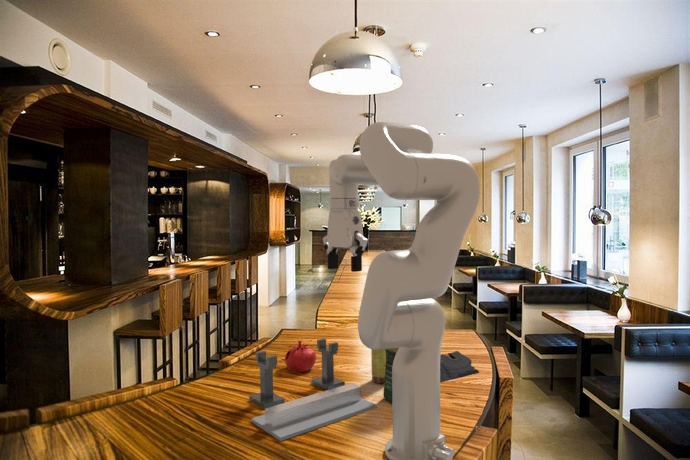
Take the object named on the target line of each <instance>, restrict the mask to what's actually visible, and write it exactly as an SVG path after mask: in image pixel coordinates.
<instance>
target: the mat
mask: <svg viewBox="0 0 690 460" xmlns="http://www.w3.org/2000/svg"><path fill="white" fill-rule="evenodd" d="M373 409H377V404H376V403H374V402H372V401H370V400H366V399H364V398H363V397H361V400H360V401H357V402H354V403H351V404H348V405H345V406H342V407H338V408H335V409H332V410H329V411H326V412H323V413H320V414H317V415H314V416H311V417H308V418H305V419H302V420H299V421H296V422H293V423H290V424H287V425H284V426H281V427H277V428H274V429H272V428H271V427H269V426H268V425H266V424H265V413H264V414H261V415H257V416H255V417H252V418H251V419H250V420H251V423H252V424H254V425H256V426H257V427H258V428H260V429H261V430H263V431H265V432H266V433H267V434H268V435H270V436H272V437H274V438H275V439H277V440H278V441H279V442H283V441H285V440H289V439H291V438H294V437H297V436H299V435H303V434H305V433H308V432H312V431H315V430H316V429H320V428H322V427H326V426H329V425H331V424H334V423H337V422H340V421H342V420H345V419H348V418H351V417H354V416H357V415H359V414H361V413H362V414H363V413H365V412H368V411H371V410H373Z"/></svg>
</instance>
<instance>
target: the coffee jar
mask: <svg viewBox="0 0 690 460" xmlns="http://www.w3.org/2000/svg"><path fill="white" fill-rule="evenodd" d="M398 349H399V348H393V349H385V350H386V369H385V380H384V384H383V398H384V399H385V400H386V402H388V403H390V404H392V366H393V361H394V358H395V355H396V353H397V351H398Z"/></svg>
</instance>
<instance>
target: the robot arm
mask: <svg viewBox="0 0 690 460" xmlns="http://www.w3.org/2000/svg"><path fill="white" fill-rule="evenodd" d="M360 136H361V137H360V140H359V153H360V154H340V155H339V156H338V157H337V158H335V159H333V160H331V161H330V162H329V172H328V174H329V178H328V179H329V180H328V181H329V212H328V220H327V221H328V222H327V234H326V235H324V237H323V238H322V241H323V245H324V249H325V251H326V252H325V254H326V255H327V269H328V270H335V269H338V268H339V254H338V250H339V249H346V250H348V249H349V251H350V252H351V254H352V256H350V271H351V272H352V273H357V272H361V271H362V270H363V262H362V261H363V258H362V257H363V256H364V253H365V251H366V249H367V245H368V238H366V236H364V231H363V221H362V215H361V211H360V210H359V195H358V193H359V192H358V187H359V186H378V187H380V189H381V190H382V191H383V193H385V195H387V196H388V197H390V198H392V199H395V200H399V201H400V200H401V201H436V203H435V205H434V206H433V207H431V208H430V209H429V210H428V211H427V212H426V213H425V215H424V216H423V217H422V219H421V220H420V221H419V223H418V226H417V227H416V231H415V235H414V239H413V241H412V245H411V246H410V247H408V248H407V249H401V250H400V249H398V250H395V249H394V250H387V251H383V252H380V253H378V254H377V255H376V256H375V257H374V258H373V259H372V261H371V263H370V265H369V267H368V271H367V275H366V279H365V284H364V289H363V292H362V296H361V302H360V307H359V311H358V318H357V333H358V336H359V339H360V342H361V343H362V344H363V346H364V347H365V348H367V349H369V350H371V349H372V350H385V349H393V348H399V349H398V351H397V353H396V355H395V358H394V361H393V366H392V403H391V404H392V438H390V439H389V440H388V441H386V444H385V446H384V453H385V456H386V458H388V460H453V458H454V456H455V454H456V450H455V448H453V447H450V446H447V445H446V441H445V440H446V436H445V435H444V434H442V433H441V382H440V355H442V354H441V351H442V345H443V338H444V333H445V328H446V317H445V312H444V308H443V307H442V305H441V304H440V303H439V302H438V301H437V300H435V299H436V298H439V297H441V296H443V295H444V294H445V293H446V292H447V290H448V289H449V285H450V283H451V280H452V277H453V273H454V269H455V267H456V263H457V261H458V257H459V253H460V250H461V246H462V243H463V240H464V238H465V234H466V232H467V230H468V228H469V226H470V224H471V222H472V220H473V218H474V215H475V214H476V210H477V208H478V205H479V201H480V197H481V196H480V195H481V184H480V178H479V174H478V171H477V169H476V167H475V166H474V165H473V164H472V163H471V162H470V161H468V160H467V159H465V158H463V157H461V156H457V155H452V154H448V153H447V154H446V153H445V154H444V153H433V148H434V141H433V138H432V136H431V134H430V133H429V132H428V131H427V129H425V128H424V127H421V126H418V125H416V124H411V123H410V124H409V123H396V122H388V121H386V122H385V121H376V122H373V123H371V124H369V125H368V126H367V127H366V128H365V129H364V131H363V132H362V134H361V135H360Z"/></svg>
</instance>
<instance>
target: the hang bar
mask: <svg viewBox="0 0 690 460" xmlns="http://www.w3.org/2000/svg"><path fill="white" fill-rule="evenodd" d="M361 398H362V387H361V385H358V384H356V383H353V382H352V383H351V382H350V383H348V384H345V385H344V386H341V387H337V388H334V389H330V390H324V391H321V392H317V393H314V394H310V395H307V396H303V397H300V398H297V399H294V400H290V401H285V403H283V404H279V405H276V406H272V407H269V408H265V409H264V414H265V424H266V425H268V426H269V427H271V428H272V429H274V428H277V427H281V426H284V425H287V424H290V423H293V422H296V421H299V420H302V419H305V418H308V417H311V416H314V415H317V414H320V413H323V412H326V411H329V410H332V409H335V408H338V407H342V406H345V405H348V404H351V403H354V402H357V401H360V400H361Z"/></svg>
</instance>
